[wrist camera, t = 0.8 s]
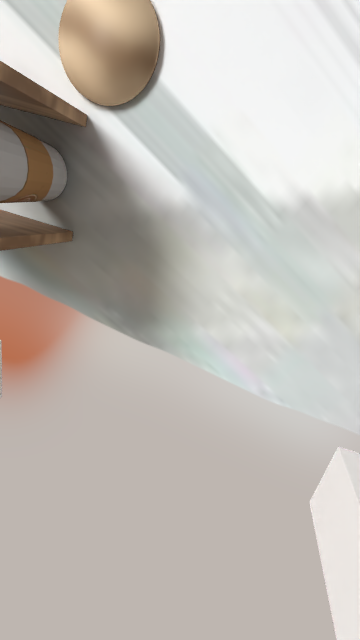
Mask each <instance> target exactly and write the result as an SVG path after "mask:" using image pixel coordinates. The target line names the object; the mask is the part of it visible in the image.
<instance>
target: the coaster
mask: <svg viewBox="0 0 360 640" xmlns="http://www.w3.org/2000/svg"><path fill="white" fill-rule="evenodd" d="M159 48H160V33H159V25H158V20H157V17H156V13H155V11H154V8H153V6H152V4H151V1H150V0H68V1H67V3H66V5H65V7H64V10H63V13H62V16H61V21H60V27H59V50H60V57H61V60H62V64H63V67H64V70H65V72H66V74H67V76H68V78H69V80H70V81H71V83H72V84H73V86H74V87H75V88H76V89H77V90H78V91H79V92H80V93H81V94H82V95H83V96H85V97H86V98H87V99H89V100H90V101H92V102H94V103H97V104H100V105H104V106H116V105H121V104H124V103H126V102H128V101H130V100H132V99H133V98H135V97H136V96H137V95H138V94H139V93H140V92H141V91H142V90H143V89H144V88H145V86H146V85H147V83H148V82H149V80H150V79H151V76H152V74H153V72H154V70H155V67H156V64H157V60H158V55H159Z"/></svg>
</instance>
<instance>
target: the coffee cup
mask: <svg viewBox="0 0 360 640" xmlns="http://www.w3.org/2000/svg"><path fill="white" fill-rule="evenodd" d="M66 183H67V169H66V165H65V163H64V161H63V159H62V157H61V155H60V154H59V153H58V151H57V150H56V149H54V148H53V147H52V146H50V145H48V144H46V143H44V142H42V141H40V140H38V139H37V138H36V137H34V136H32V135H29V134H27V133H25V132H23V131H21V130H19V129H17V128H15V127H13V126H11V125H9V124H7V123H5V122H3V121H1V120H0V203H13V202H36V201H45V200H52V199H54V198H56V197H58V196H59V195H60V194H61V192H62V191H63V190H64V188H65V186H66Z"/></svg>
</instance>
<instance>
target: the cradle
mask: <svg viewBox="0 0 360 640" xmlns="http://www.w3.org/2000/svg"><path fill="white" fill-rule="evenodd" d="M0 105H3V106H7V107H10V108H14V109H18V110H22V111H26V112H30V113H34V114H37V115H41V116H45V117H49V118H53V119H57V120H60V121H64V122H68V123H72V124H76V125H80V126H84V127H86V122H87V115H86V114H85V113H83V112H81V111H80V110H78V109H77V108H75V107H73V106H72V105H70V104H69V103H67V102H65V101H64V100H62V99H61V98H59V97H57V96H56V95H54V94H53V93H51V92H49V91H48V90H46V89H45V88H43V87H41V86H40V85H38V84H37V83H35V82H33V81H32V80H30V79H29V78H27V77H25V76H24V75H22V74H21V73H19V72H17V71H16V70H14V69H13V68H11V67H9V66H8V65H6V64H5V63H3V62H1V61H0ZM72 236H73V232H72V231H69V230H66V229H62V228H59V227H56V226H53V225H49V224H46V223H43V222H39V221H36V220H33V219H29V218H26V217H23V216H20V215H16V214H13V213H10V212H6V211H3V210H0V251H2V250H9V249H17V248H24V247H31V246H39V245H46V244H53V243H61V242H68V241H72Z"/></svg>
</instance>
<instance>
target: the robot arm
mask: <svg viewBox="0 0 360 640" xmlns="http://www.w3.org/2000/svg"><path fill="white" fill-rule="evenodd" d="M1 397H2V358H1V340H0V398H1ZM310 507H311V513H312V518H313V523H314V528H315V533H316V537H317V543H318V548H319V553H320V558H321V563H322V568H323V573H324V578H325V583H326V588H327V593H328V598H329V603H330V608H331V614H332V619H333V624H334V629H335V634H336V639H337V640H360V453H358V452H354V451H351V450H348V449H345V448H342V447H338V448H337V450H336V452H335V454H334V456H333V458H332V460H331V462H330V464H329V466H328V467H327V470H326V471H325V473H324V475H323V477H322V479H321V481H320V483H319V485H318V487H317V489H316V490H315V492H314V495H313V496H312V499H311V500H310Z"/></svg>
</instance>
